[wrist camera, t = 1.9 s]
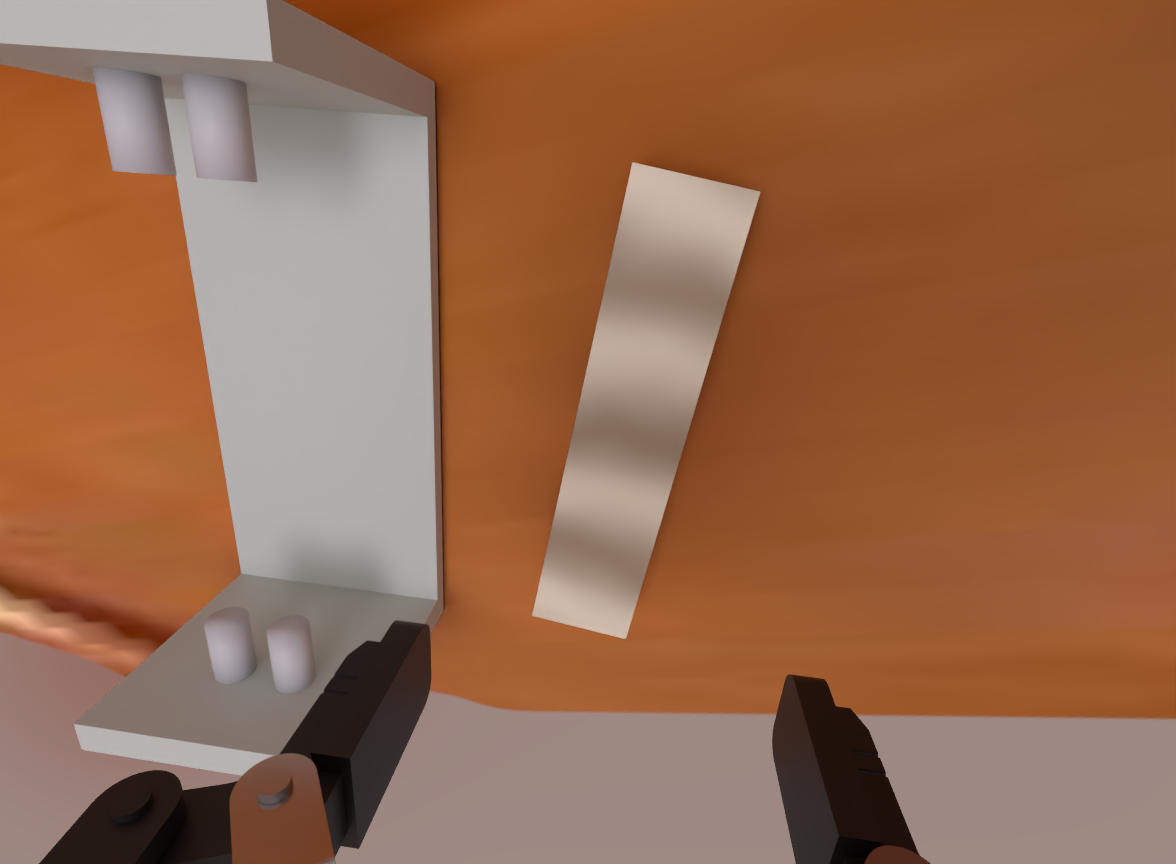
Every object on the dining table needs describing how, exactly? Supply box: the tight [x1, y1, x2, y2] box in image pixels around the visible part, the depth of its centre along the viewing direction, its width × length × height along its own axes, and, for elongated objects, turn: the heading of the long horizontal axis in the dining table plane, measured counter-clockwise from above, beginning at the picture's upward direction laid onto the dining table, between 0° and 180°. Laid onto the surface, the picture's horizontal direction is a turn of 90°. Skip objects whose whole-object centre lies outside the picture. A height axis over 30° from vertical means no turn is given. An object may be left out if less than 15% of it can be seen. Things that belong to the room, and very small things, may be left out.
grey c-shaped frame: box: [0, 0, 444, 776], centre depth 26 cm, size 28×12×12 cm, turn 176°
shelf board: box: [532, 162, 760, 639], centre depth 29 cm, size 22×5×4 cm, turn 168°
